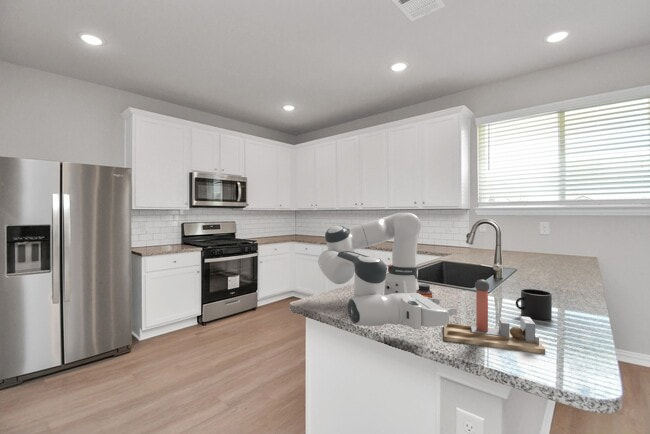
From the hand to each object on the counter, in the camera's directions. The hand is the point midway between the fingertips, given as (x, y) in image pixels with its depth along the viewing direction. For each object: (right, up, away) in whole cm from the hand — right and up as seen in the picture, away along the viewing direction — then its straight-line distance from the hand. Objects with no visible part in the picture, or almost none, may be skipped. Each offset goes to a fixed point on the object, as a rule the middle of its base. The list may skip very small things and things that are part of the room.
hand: (446, 305), depth 93 cm
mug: (+41, -10, +21) cm, 47 cm away
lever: (+14, -9, +1) cm, 17 cm away
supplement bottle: (+1, -11, +24) cm, 27 cm away
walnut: (+21, -9, -1) cm, 23 cm away
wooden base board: (+14, -11, +1) cm, 17 cm away
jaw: (+24, -9, -2) cm, 26 cm away
